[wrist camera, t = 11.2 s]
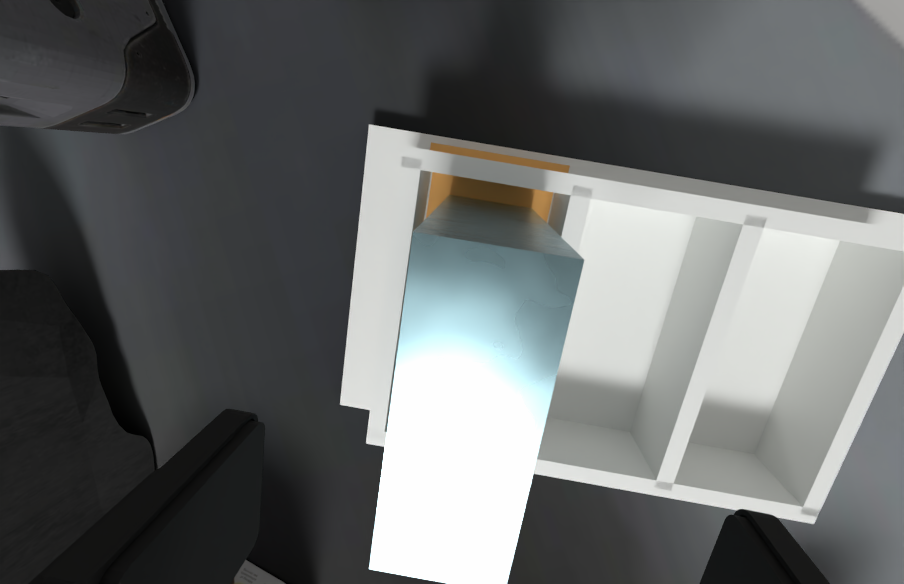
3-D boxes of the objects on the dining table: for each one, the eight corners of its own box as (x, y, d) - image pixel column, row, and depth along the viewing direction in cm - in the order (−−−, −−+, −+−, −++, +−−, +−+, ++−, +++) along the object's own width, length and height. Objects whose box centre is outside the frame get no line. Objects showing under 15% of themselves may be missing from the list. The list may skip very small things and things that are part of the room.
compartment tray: (904, 214, 22) (1020, 229, 17) (791, 475, 26) (859, 545, 22) (374, 126, 23) (344, 116, 18) (345, 395, 27) (315, 446, 22)
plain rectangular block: (531, 208, 22) (584, 259, 11) (494, 393, 25) (504, 593, 13) (449, 194, 22) (412, 231, 11) (421, 381, 25) (369, 569, 14)
